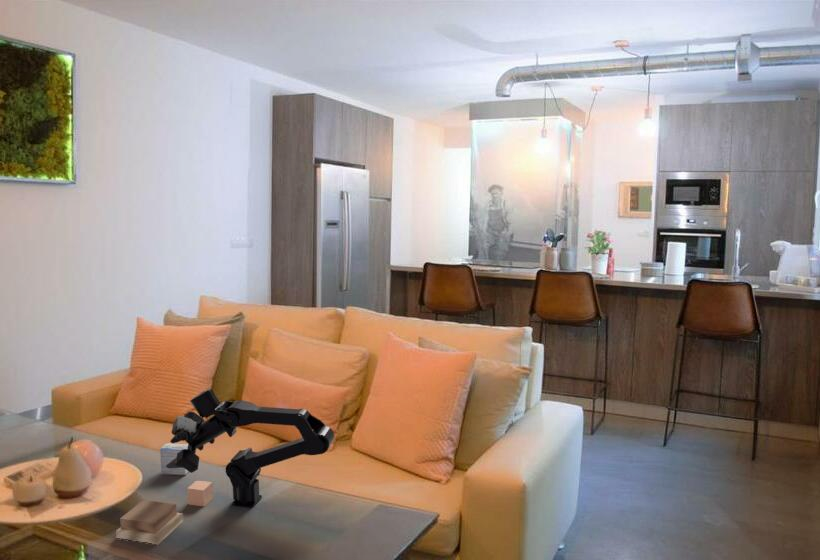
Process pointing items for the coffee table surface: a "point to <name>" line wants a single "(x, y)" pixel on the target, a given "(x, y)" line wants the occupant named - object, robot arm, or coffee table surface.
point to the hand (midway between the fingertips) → (169, 454)
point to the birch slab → (149, 536)
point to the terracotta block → (200, 493)
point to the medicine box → (171, 458)
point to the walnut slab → (148, 516)
